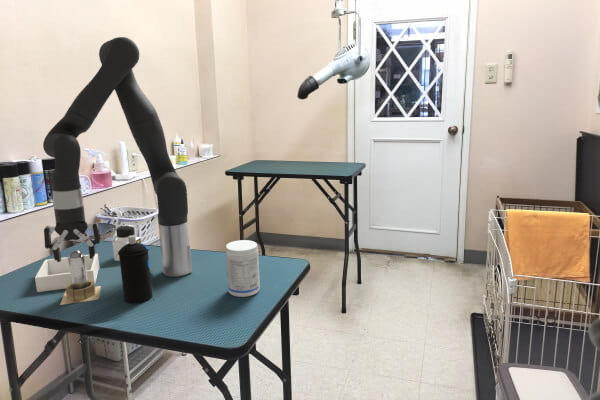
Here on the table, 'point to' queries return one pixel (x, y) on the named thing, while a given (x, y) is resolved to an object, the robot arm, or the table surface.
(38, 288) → the bin
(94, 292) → the socket base
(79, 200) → the robot arm
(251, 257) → the supplement tub
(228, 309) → the table surface
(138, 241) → the medicine bottle
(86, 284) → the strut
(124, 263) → the aerosol can
